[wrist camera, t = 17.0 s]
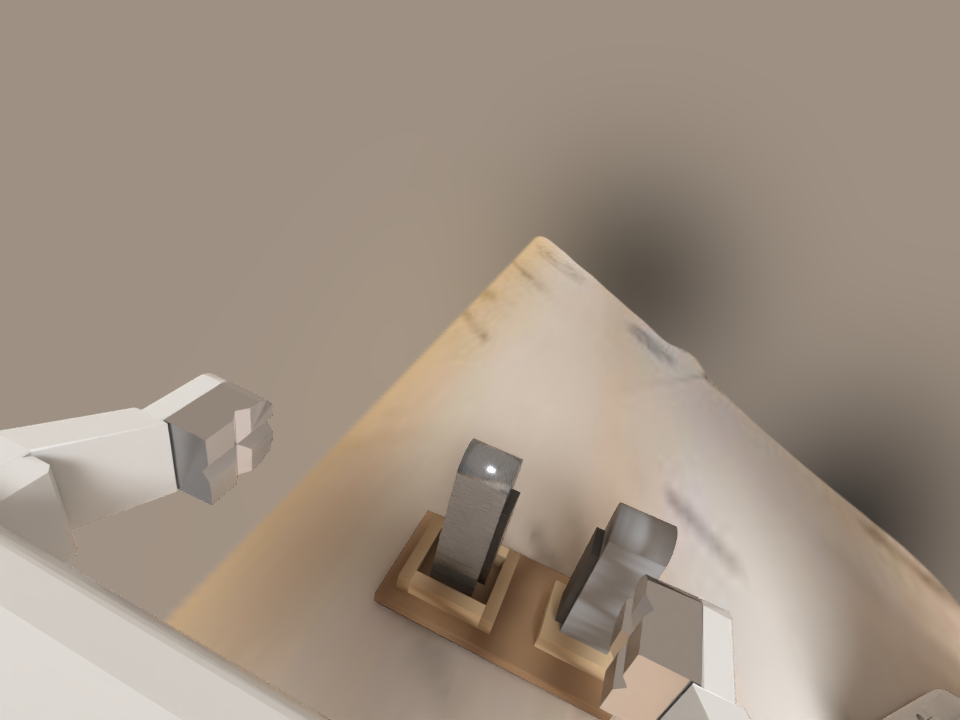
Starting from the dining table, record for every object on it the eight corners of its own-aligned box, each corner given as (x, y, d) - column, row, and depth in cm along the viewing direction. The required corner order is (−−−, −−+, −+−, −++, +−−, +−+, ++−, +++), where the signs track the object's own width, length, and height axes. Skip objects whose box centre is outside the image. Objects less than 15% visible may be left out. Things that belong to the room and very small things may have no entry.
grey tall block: (490, 572, 43) (534, 454, 35) (477, 603, 40) (521, 483, 33) (444, 550, 44) (478, 430, 36) (428, 579, 41) (461, 456, 34)
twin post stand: (624, 612, 43) (700, 494, 36) (606, 722, 36) (698, 605, 28) (426, 517, 47) (456, 392, 39) (374, 600, 40) (397, 466, 32)
